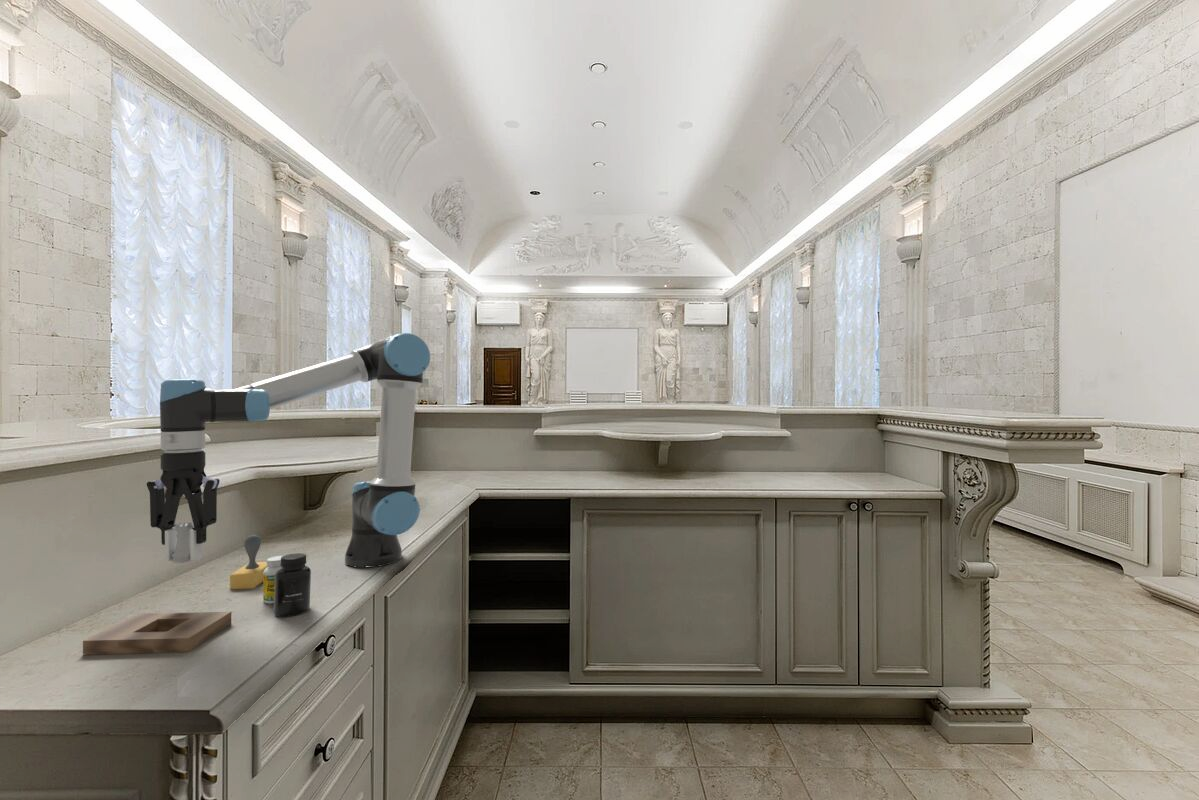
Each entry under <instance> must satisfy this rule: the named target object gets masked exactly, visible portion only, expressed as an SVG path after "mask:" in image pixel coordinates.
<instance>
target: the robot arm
mask: <svg viewBox="0 0 1199 800" xmlns="http://www.w3.org/2000/svg"><path fill="white" fill-rule="evenodd" d="M430 362H431V353H430V349H429V347H428V345H427V343H426V342H425V341H424V340H423V339H422V338H421V337H419V336H418V335H416V334H413V333H409V332H403V333H402V332H398V333H395V334H392V335H390V336H385V337H383V338H379V340H376V341H374V342H372V343H370V344H368V345H365V346H362V347H360V348H356V349H352V350H351V352H350V354H349V355H347V356H341V357H338V358H336V359H331V360H329V361H326V362H321V363H318V364H314V365H312V366H308V367H304V368H301V369H298V370H294V371H290V372H287V373H284V374H281V375H276V376H273V377H270V378H267V379H263V380H260V381H256V382H253V383H250V384H247V385H246V384H245V385H242V386H239V387H235V388H218V389H217V388H208V387H207V386H206V383H205V380H203V379H202V380H201V379H186V378H183V379H182V378H181V379H180V378H179V379H178V378H175V379H173V378H172V379H165V380H163V381H162V382H161V384H160V393H159V394H160V395H159V418H160V419H159V421H160V425H159V426H160V450H161V451H164V452H162V453H161V454H160V470H161V471H162V474H161V476H160V478H158V479H155V480H150V481H147V482H146V487H147V490H148V492H149V508H150V509H149V510H150V511H149V516H150V527H151V528H153V529H154V528H156V529H158V530H159V529H160V532H161V537H160V538H161V540H160V541H161V544H162V545H163V546H164V562H170V561H171V560H172V559H173V557H172V554H173V553H174V552H175V551H174V550H175V549H176V545H177V537H176V535H177V531H176V530H175V528H176V527H177V524H175V523H176V518H177V515H178V510H179V505H180V501H181V498H182V497H183V495H184V498H185V500H187V504H188V508H189V512H190V515H191V520H192V525H193V526H194V527H193V528H192V530H190V558H191V561H190V562H192V561H193V562H194V561H196V560H199V559H201V558H203V557H204V543H206V542H207V528H208V526H211V525H213V524H214V525H215V524H216V523H217V520H218V519H217V517H218V516H217V513H218V512H217V511H218V509H217V506H218V505H217V503H218V502H217V500H218V499H217V498H218V497H217V496H218V495H217V494H218V493H217V491H218V487H219V484H220V482H221V480H220V479H219V478H214V479H213V478H210V477H208V476H207V474H206V472H205V467H206V451H204V450H203V449H205V448H206V423H238V422H239V423H241V422H242V423H243V422H245V423H246V422H250V423H253V422H263V421H266V420H268V419H269V417H270V414H271V413H270V410H273V409H275V408H278V407H282V406H285V405H288V404H291V403H294V402H297V401H300V400H303V399H307V398H309V397H312V396H315V395H316V396H317V395H318V394H323V393H326V392H329V391H331V390H334V389H339V388H341V387H343V386H347V385H350V384H353V383H357V382H360V381H361V382H362V383H367V382H370V381H374V380H376V381H377V383H378V384H379V385H380V386H381V388H382V391H381V393H382V394H381V406H380V407H381V409H380V419H379V420H380V421H379V434H378V448H377V449H378V450H377V462H376V473H375V474H376V475H375V477H374V478H373V479H372V480H369V481H362V482H361V481H360V482H355V483H354V484H353V485H352V486H353V487H352V492H351V496H352V497H351V498H352V499H351V502H352V505H351V507H352V508H351V511H352V512H351V513H352V515H351V537H350V540H349V543H348V545H347V548H346V551H345V555H344V564H345V563H346V564H347V565H346V564H345V565H346V566H348V565H350V566H349V567H351V566H356V567H355V568H367V567H366V566H376V567H380V566H379V565H382V566H386V565H385V564H387V565H390V564H393V562H394V563H396V562H399V560H401V559H402V557H403V552H402V551H403V550H402V547H401V543H400V541H399V538H398V536H399V535H402V534H403V533H406V532H408V531H409V530H411V528H412V527H413V526H415V524H416V523H417V521H418V519H419V516H420V513H421V512H420V510H421V506H420V504H419V501H418V499H417V497H416V496H415V495H416V482H415V480H414V479H413V478H412V477H411V471H412V470H411V467H412V453H413V439H414V426H415V425H414V424H415V423H414V422H415V408H416V395H417V390H418V389H419V388H420V387H421V386H422V385H423V381H424V380H423V378H424V372H425V371H426V369H428V367H429V365H430ZM201 487H202V488H203V492H202V488H201ZM165 489H166V491H165ZM202 497H203V498H202ZM171 562H172V561H171ZM389 563H390V564H389Z"/></svg>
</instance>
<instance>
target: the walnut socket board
mask: <svg viewBox="0 0 1199 800" xmlns="http://www.w3.org/2000/svg"><path fill="white" fill-rule="evenodd" d="M230 625H232V611H206V612H204V611H200V612H196V611H195V612H157V613H156V612H155V613H153V612H152V613H149V612H148V613H137V614H135V615H133V616H131V617H128V618H127V619H125V620H122V621H121V622H118V623H117V624H114V625H112V626H110V627H108V628H106V629H104V630H102V631H101V632H99V633H96V634H94V635H92V636H90V637H88V638H86V639H84V640H82V655H83V654H95V655H118V654H119V655H123V654H128V655H129V654H131V655H132V654H157V653H158V654H161V653H163V654H164V653H188V652H190V651H192V650H194V649H195V648H196V647H198V646H200V645H201V644H203V643H204V642H206V641H208V640H209V639H210V638H212V637H214V636H215V635H216V634H218V633H220V632H221V631H222V630H224V629H226V628H227V627H229V626H230Z"/></svg>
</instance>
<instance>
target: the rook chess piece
mask: <svg viewBox="0 0 1199 800" xmlns="http://www.w3.org/2000/svg"><path fill="white" fill-rule="evenodd" d="M174 528H175V530H176V531H177V535H176V537H177V545H176V549H175V550H174V551H175V552H174V553H173V554H172V557H173V559H172V560H171V562H172V563H174V564H182V563H184V564H185V563H189V562H192V561H191V558H190V530H192V528H194V524H193V521H192V522H191V521H188V522H186V521H184V522H178V523H177V524H176V526H175V527H174Z"/></svg>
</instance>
